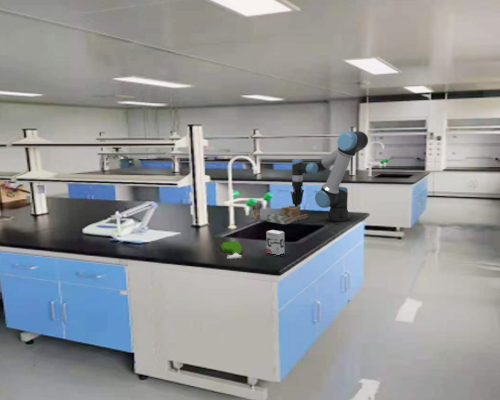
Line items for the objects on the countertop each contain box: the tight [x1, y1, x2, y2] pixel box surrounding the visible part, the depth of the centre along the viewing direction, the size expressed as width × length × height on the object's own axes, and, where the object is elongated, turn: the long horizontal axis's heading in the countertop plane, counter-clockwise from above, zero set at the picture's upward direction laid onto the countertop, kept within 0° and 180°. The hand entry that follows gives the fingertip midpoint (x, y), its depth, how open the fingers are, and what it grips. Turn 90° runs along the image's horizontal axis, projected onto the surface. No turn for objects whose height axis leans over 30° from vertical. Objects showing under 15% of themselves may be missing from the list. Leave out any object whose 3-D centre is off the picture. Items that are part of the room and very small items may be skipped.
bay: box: [266, 213, 309, 225], centre depth 316 cm, size 16×26×5 cm, turn 138°
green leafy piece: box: [220, 241, 243, 260], centre depth 236 cm, size 3×11×24 cm
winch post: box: [251, 202, 262, 222], centre depth 316 cm, size 6×4×14 cm
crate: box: [281, 205, 301, 218], centre depth 319 cm, size 9×9×8 cm
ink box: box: [265, 229, 285, 256], centre depth 231 cm, size 8×5×12 cm, turn 48°
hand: (297, 213), depth 325 cm, fingers closed
